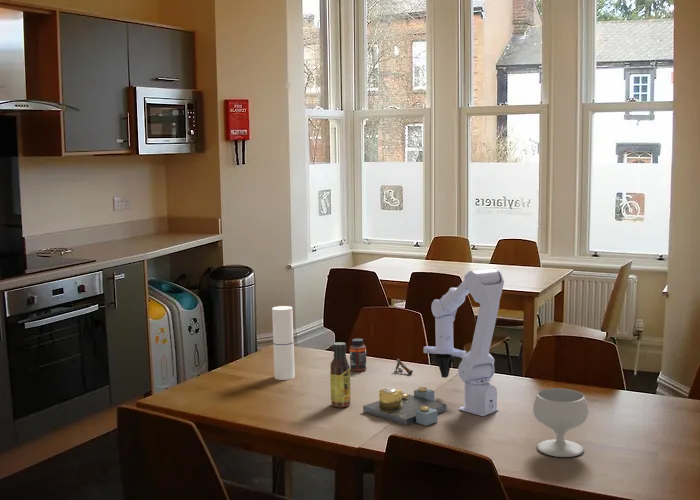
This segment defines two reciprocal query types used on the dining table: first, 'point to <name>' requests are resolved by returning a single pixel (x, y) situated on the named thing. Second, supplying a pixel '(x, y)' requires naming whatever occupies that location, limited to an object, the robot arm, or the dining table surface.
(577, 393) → the chalice
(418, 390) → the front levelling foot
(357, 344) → the supplement bottle
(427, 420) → the block with brass knob
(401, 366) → the brown angled frame
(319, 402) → the dining table surface
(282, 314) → the cylindrical container
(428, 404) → the base
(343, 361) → the sauce bottle
